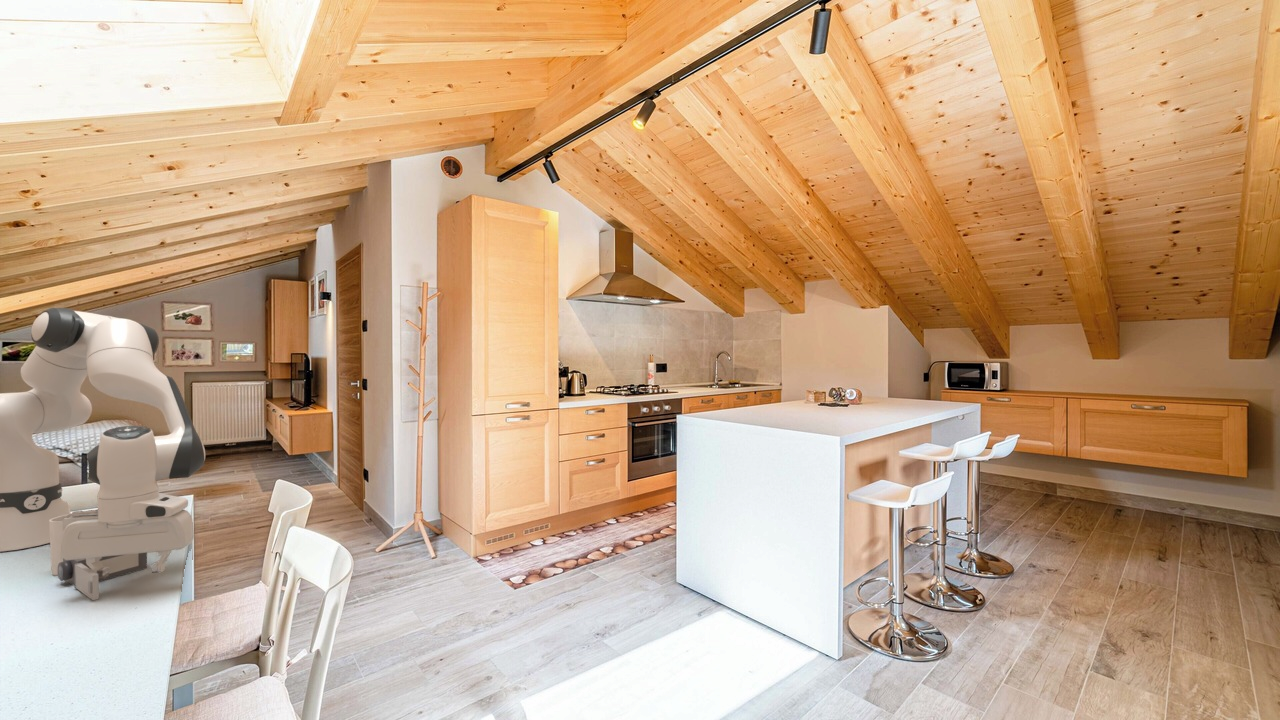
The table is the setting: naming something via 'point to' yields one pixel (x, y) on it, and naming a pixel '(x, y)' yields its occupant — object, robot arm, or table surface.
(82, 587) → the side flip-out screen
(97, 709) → the table surface
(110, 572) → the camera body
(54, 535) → the mug
